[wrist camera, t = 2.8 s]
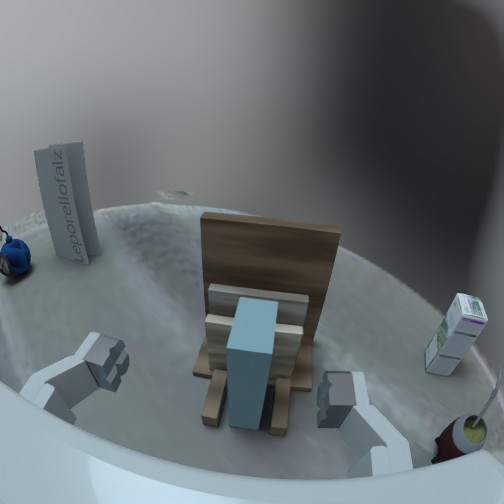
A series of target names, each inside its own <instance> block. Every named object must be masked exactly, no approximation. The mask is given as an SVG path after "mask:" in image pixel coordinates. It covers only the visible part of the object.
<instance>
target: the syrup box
mask: <svg viewBox="0 0 504 504" xmlns="http://www.w3.org/2000/svg"><path fill="white" fill-rule="evenodd" d="M487 321H488V319H487V316H486V313H485V310H484V307H483V304H482V302H481V300H480V299H479V298H476V297H473V296H470V295H466V294H459V293H457V295H456V297H455V299H454V301H453V303H452V305H451V307H450V308H449V310H448V312H447V314H446V316H445V318H444V319H443V321H442V323H441V325H440V326H439V328H438V330H437V332H436V333H435V335H434V337H433V338H432V340H431V342H430V343H429V345H428V346H427V348H426V350H425V364H426V372H429V373H433V374H438V375H444V376H449V375H450V374H451V373H452V371H453V370H454V369H455V368H456V366H457V365H458V364H459V362H460V361H461V360H462V358H463V357H464V355H465V354H466V353H467V351H468V350H469V348H470V347H471V346H472V344H473V343H474V341H475V340H476V338H477V337H478V335H479V334H480V332H481V331H482V329H483V328H484V326H485V324H486V323H487Z"/></svg>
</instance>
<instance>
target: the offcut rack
mask: <svg viewBox="0 0 504 504" xmlns="http://www.w3.org/2000/svg"><path fill="white" fill-rule="evenodd" d="M200 224H201V247H202V266H203V283H204V297H205V311H206V317H207V315H208V314H210V313H209V297H208V289H209V286H210V284H211V283H212V284H220V285H227V286H234V287H242V288H250V289H258V290H266V291H274V292H283V293H292V294H301V295H308V297H309V303H308V307H307V312H306V316H305V320H304V324H303V338H302V341H301V345H300V349H299V352H298V356H297V360H296V363H295V367H294V370H293V372H292V373H291V377H290V379H283V378H277V379H276V381H275V380H268V381H267V387H269V388H275V389H274V397H273V406H272V414H271V422H270V430H269V435H279V436H284V434H285V431H286V429H287V422H288V410H289V397H290V390H299V391H311V389H312V342H313V339H314V336H315V332H316V329H317V325H318V322H319V318H320V315H321V311H322V308H323V304H324V301H325V297H326V293H327V289H328V285H329V281H330V278H331V274H332V269H333V265H334V261H335V257H336V253H337V248H338V243H339V239H340V235H341V232H340V229H339V226H332V225H324V224H315V223H307V222H299V221H291V220H282V219H274V218H264V217H255V216H245V215H235V214H224V213H213V212H204V213H203V215H202V216H201V218H200ZM193 375H195V376H200V377H205V378H210V379H211V383H210V386H209V390H208V393H207V397H206V400H205V404H204V407H203V411H202V414H201V417H202V421H203V424H205V425H210V426H215V427H218V423H219V419H220V415H221V411H222V406H223V402H224V398H225V394H226V390H227V371H224V370H218V369H214V371H210V367H209V358H208V348H207V338H206V335H205V338H204V341H203V344H202V347H201V349H200V352H199V355H198V358H197V361H196V364H195V367H194V370H193Z"/></svg>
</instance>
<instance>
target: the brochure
mask: <svg viewBox="0 0 504 504" xmlns="http://www.w3.org/2000/svg"><path fill="white" fill-rule="evenodd" d="M34 156H35V163H36V168H37V175H38V181H39V186H40V192H41V196H42V201H43V206H44V210H45V214H46V218H47V222H48V226H49V230H50V233H51V237H52V241H53V244H54V247H55V251H56V254H57V256H60V257H63V258H66V259H70V260H73V261H76V262H79V263H82V264H85V265H90V264H89V261H88V257H87V255H102V253H101V249H100V244H99V240H98V236H97V231H96V226H95V222H94V217H93V211H92V206H91V200H90V194H89V188H88V181H87V175H86V167H85V158H84V149H83V141H78V142H68V143H60V144H52V145H49V147H48V148H44V149H39V150H35V151H34Z"/></svg>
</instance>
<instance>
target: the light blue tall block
mask: <svg viewBox="0 0 504 504" xmlns="http://www.w3.org/2000/svg"><path fill="white" fill-rule="evenodd" d="M277 308H278V302H276V301H268V300H260V299H252V298H244V297H240V299H239V303H238V306H237V310H236V314H235V318H234V321H233V325H232V329H231V332H230V336H229V340H228V343H227V347H226V353H227V387H228V413H229V426H232V427H239V428H245V429H253V430H258V429H259V424H260V419H261V414H262V408H263V403H264V398H265V392H266V387H267V381H268V376H269V370H270V364H271V359H272V352H273V344H274V335H275V326H276V317H277Z"/></svg>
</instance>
